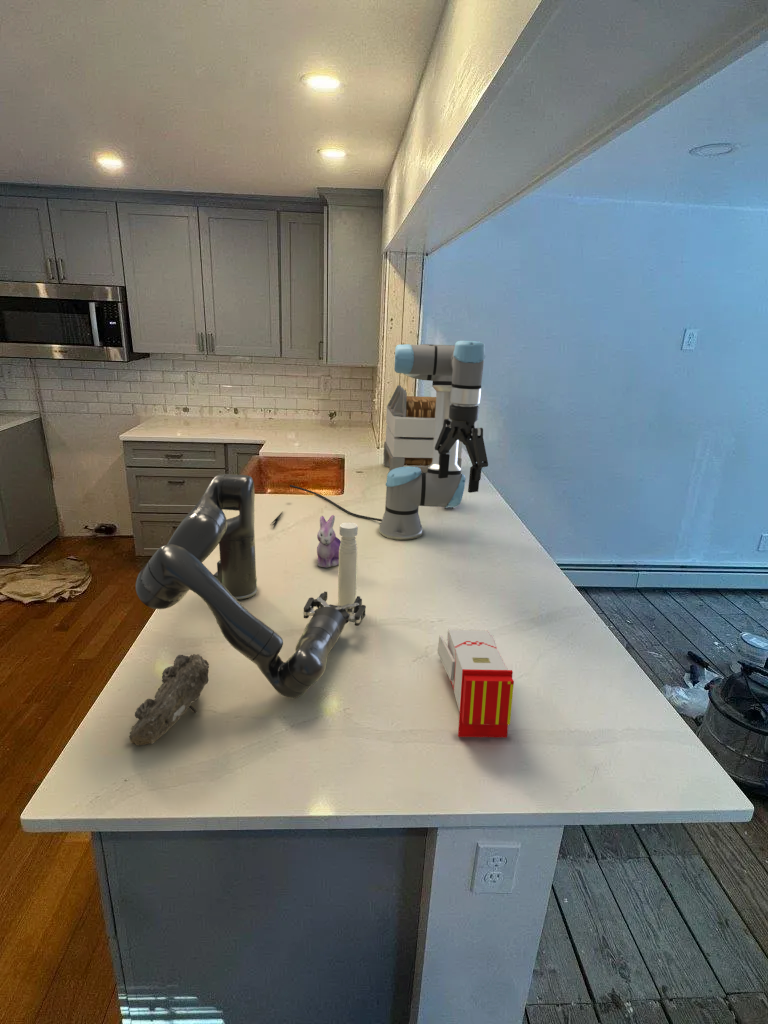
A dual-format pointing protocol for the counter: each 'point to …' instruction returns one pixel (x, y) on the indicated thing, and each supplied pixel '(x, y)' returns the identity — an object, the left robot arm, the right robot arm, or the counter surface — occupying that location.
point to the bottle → (347, 571)
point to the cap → (348, 529)
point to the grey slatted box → (410, 431)
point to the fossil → (170, 698)
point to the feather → (276, 520)
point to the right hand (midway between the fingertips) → (457, 484)
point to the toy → (478, 682)
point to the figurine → (327, 544)
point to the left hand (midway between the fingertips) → (342, 597)
